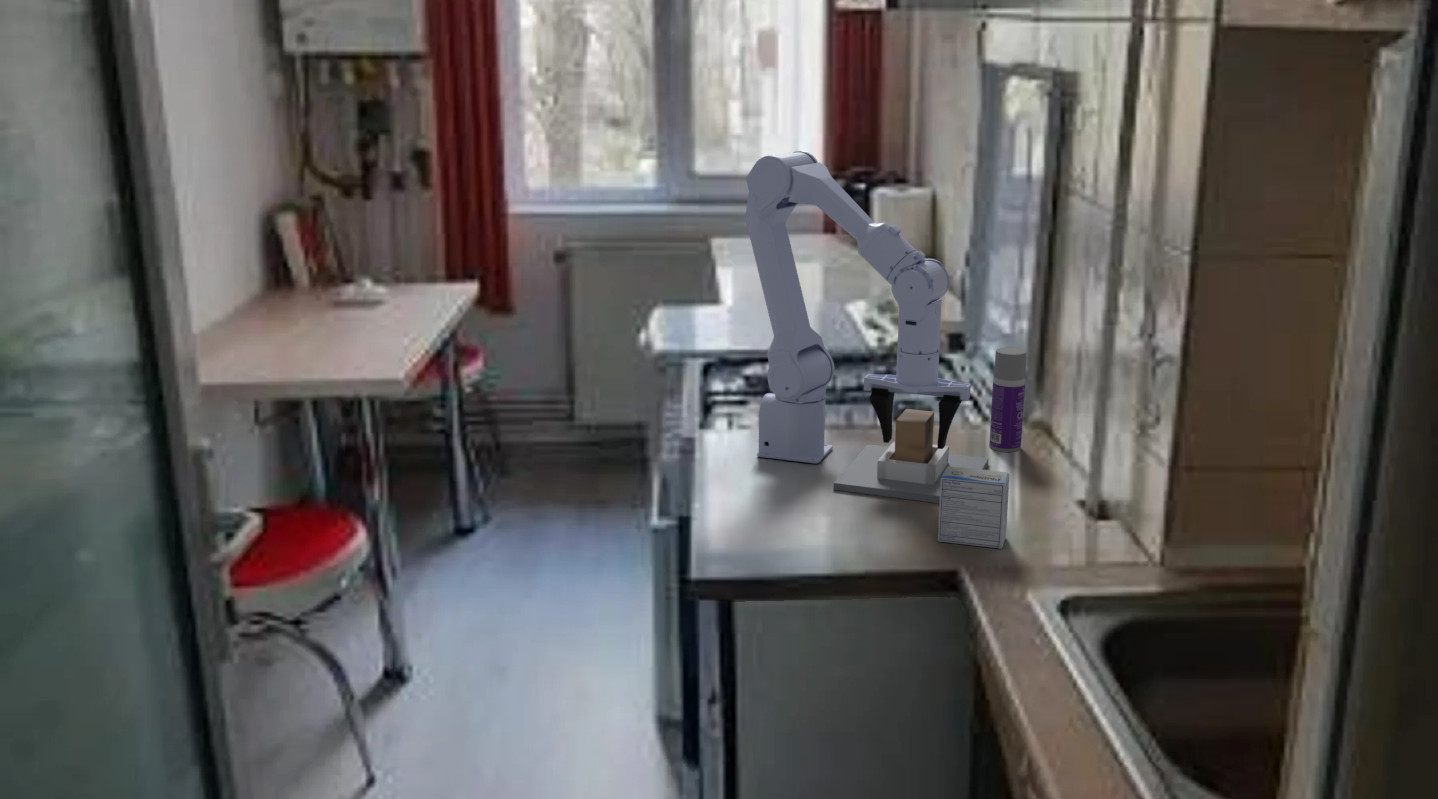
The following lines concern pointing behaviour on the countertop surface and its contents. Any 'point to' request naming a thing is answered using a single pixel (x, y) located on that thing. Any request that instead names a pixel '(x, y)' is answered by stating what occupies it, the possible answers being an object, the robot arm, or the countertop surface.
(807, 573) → the countertop surface
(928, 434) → the walnut peg
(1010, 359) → the container
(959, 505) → the medicine box
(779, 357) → the robot arm
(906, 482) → the socket plate
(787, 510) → the countertop surface
